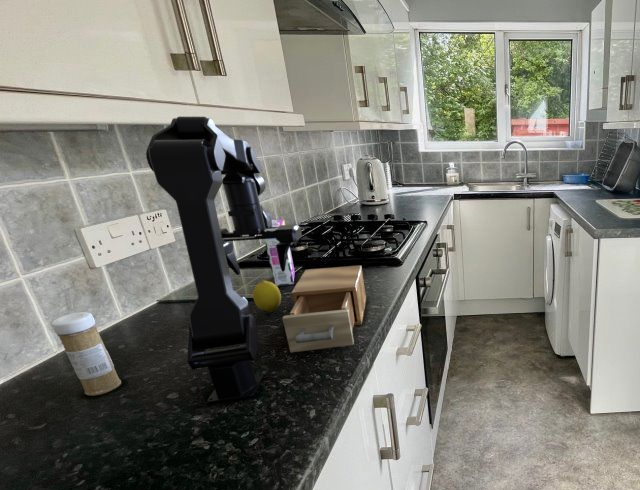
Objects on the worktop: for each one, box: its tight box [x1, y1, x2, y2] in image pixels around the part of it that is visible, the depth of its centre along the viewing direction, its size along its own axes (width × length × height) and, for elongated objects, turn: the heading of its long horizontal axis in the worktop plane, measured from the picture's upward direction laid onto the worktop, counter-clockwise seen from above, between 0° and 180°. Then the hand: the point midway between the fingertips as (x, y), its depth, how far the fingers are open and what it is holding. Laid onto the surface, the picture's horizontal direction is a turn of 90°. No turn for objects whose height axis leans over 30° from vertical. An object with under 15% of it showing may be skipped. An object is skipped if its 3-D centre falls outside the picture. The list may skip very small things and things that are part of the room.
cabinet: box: [291, 265, 367, 326], centre depth 94 cm, size 15×13×9 cm
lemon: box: [252, 280, 282, 313], centre depth 95 cm, size 6×6×8 cm
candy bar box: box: [263, 218, 296, 287], centre depth 114 cm, size 11×5×16 cm, turn 25°
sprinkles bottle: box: [50, 311, 122, 397], centre depth 66 cm, size 5×5×13 cm
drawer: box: [282, 291, 356, 353], centre depth 82 cm, size 18×11×7 cm, turn 14°
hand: (261, 272), depth 93 cm, fingers open, 9 cm apart
